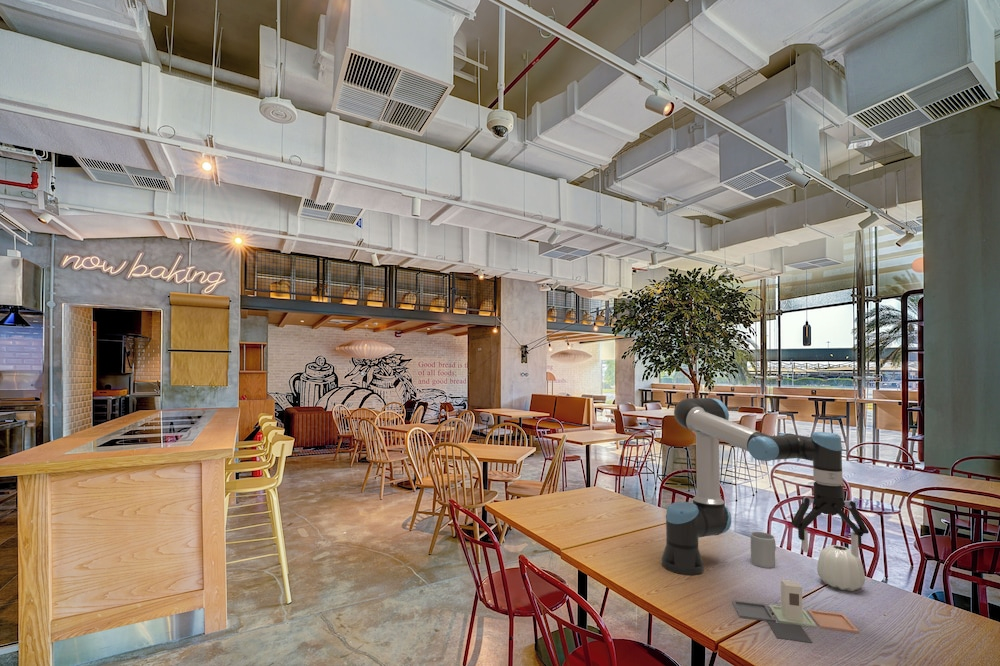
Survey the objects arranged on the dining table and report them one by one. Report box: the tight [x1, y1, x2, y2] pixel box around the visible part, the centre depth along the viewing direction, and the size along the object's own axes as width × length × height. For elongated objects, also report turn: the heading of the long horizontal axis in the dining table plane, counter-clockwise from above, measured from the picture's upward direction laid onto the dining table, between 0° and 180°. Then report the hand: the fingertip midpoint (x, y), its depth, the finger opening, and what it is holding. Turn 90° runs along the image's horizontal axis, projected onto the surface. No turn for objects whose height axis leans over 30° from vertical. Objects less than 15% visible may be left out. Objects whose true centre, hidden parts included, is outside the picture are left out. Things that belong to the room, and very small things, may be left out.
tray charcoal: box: [731, 599, 777, 622], centre depth 150 cm, size 10×10×1 cm
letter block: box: [780, 579, 804, 621], centre depth 148 cm, size 4×5×10 cm
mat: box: [766, 621, 813, 644], centre depth 139 cm, size 9×9×1 cm
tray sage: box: [768, 604, 818, 629], centre depth 148 cm, size 10×10×1 cm
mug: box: [750, 531, 777, 569], centre depth 190 cm, size 12×8×11 cm
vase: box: [816, 544, 866, 592], centre depth 171 cm, size 14×14×13 cm
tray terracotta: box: [806, 609, 860, 634], centre depth 145 cm, size 10×10×1 cm
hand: (829, 553), depth 147 cm, fingers open, 13 cm apart
